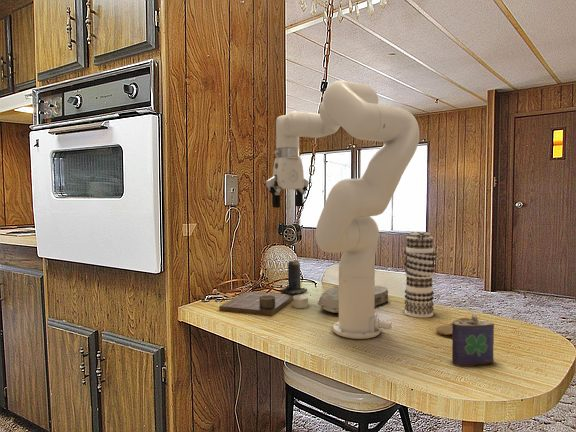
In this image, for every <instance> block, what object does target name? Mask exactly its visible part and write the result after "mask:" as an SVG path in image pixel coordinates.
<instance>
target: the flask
mask: <svg viewBox="0 0 576 432" xmlns="http://www.w3.org/2000/svg"><path fill="white" fill-rule="evenodd" d="M478 319H480V317H479V316H477V315H476V314H471V318H470V320H468V321H465V322H462V321H461V320H459V322H454V321H453V322H454V323H453V324H452V329H453V330H452V334H451V336H452V339H451V340H452V343H451V348H452V352H451V353H452V355H451V356H452V357H451V358H452V364H453V365H454V366H458V367H459V366H460V367H474V366H486V365H487V366H489V365H491V364H494V359H495V358H494V346H495V345H494V343H495V329H494V328H495V324H494V322H493V321H489V320H483V321H479V320H478Z"/></svg>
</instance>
